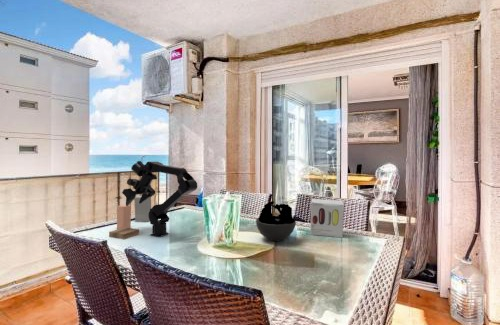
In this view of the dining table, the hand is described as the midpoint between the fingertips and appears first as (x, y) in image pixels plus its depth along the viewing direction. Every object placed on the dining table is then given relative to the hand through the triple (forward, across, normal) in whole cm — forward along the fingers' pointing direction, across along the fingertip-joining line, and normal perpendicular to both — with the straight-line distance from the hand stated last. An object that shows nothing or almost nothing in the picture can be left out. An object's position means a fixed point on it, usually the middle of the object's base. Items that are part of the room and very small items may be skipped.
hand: (133, 204), depth 155 cm
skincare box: (+18, -19, -2) cm, 27 cm away
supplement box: (-41, -45, +90) cm, 109 cm away
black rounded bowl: (-29, -20, +72) cm, 80 cm away
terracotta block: (+16, 0, +2) cm, 16 cm away
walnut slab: (+10, +9, +12) cm, 18 cm away
